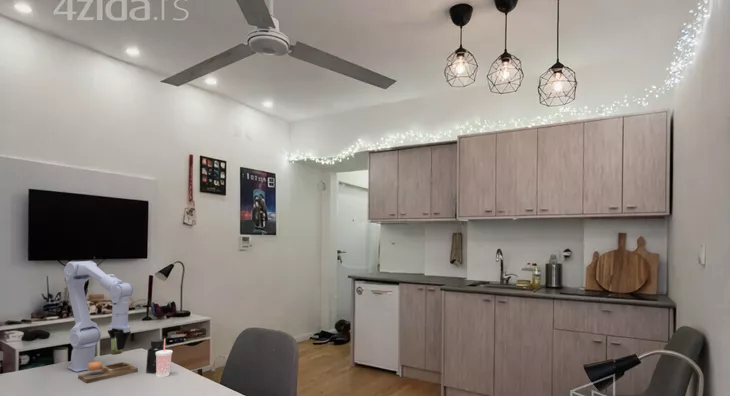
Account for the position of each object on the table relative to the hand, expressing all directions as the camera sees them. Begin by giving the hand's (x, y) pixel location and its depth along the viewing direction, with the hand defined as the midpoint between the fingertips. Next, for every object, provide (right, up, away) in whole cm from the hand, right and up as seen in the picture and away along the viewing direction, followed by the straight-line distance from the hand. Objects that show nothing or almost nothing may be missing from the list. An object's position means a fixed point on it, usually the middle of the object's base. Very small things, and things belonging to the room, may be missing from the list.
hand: (118, 348), depth 169 cm
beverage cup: (+20, -9, -4) cm, 22 cm away
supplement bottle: (+14, -10, +2) cm, 17 cm away
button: (-5, -6, -7) cm, 10 cm away
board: (-2, -9, -3) cm, 10 cm away
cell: (0, -2, 0) cm, 2 cm away
